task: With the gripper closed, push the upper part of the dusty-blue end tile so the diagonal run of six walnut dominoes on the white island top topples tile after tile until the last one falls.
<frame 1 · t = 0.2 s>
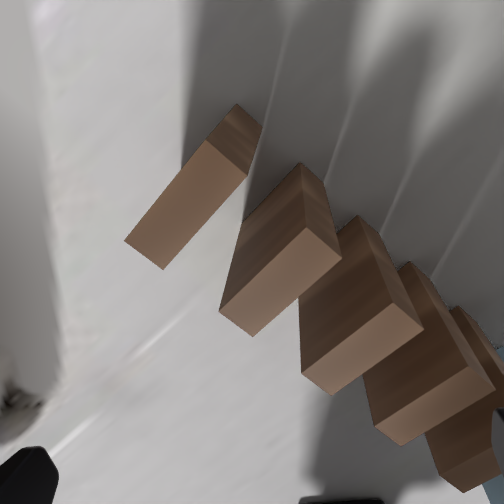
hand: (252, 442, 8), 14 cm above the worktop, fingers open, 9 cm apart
domino 6: (220, 151, 20), on the worktop
domino 4: (337, 252, 22), on the worktop
domino 1: (478, 374, 25), on the worktop
domino 5: (281, 204, 21), on the worktop
domino 2: (434, 336, 24), on the worktop
domino 3: (387, 295, 23), on the worktop
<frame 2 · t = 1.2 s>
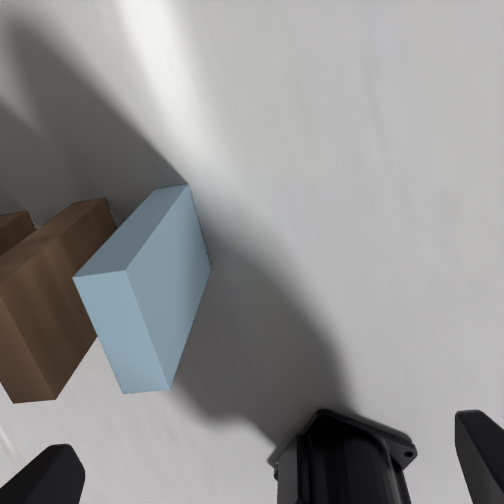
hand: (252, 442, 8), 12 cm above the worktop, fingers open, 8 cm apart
domino 1: (184, 230, 20), on the worktop
domino 2: (105, 242, 20), on the worktop
domino 3: (31, 253, 21), on the worktop
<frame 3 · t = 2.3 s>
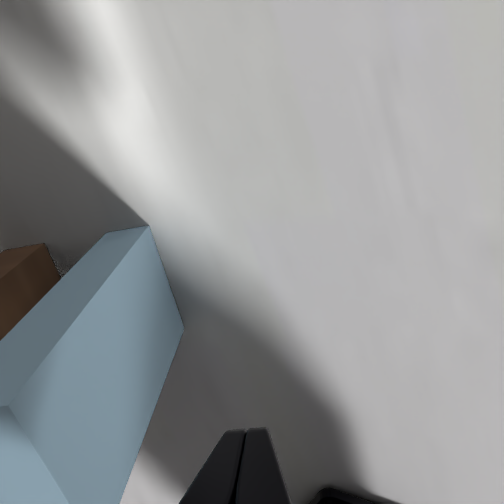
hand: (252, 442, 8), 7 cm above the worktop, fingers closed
domino 1: (147, 283, 15), on the worktop
domino 2: (49, 297, 16), on the worktop
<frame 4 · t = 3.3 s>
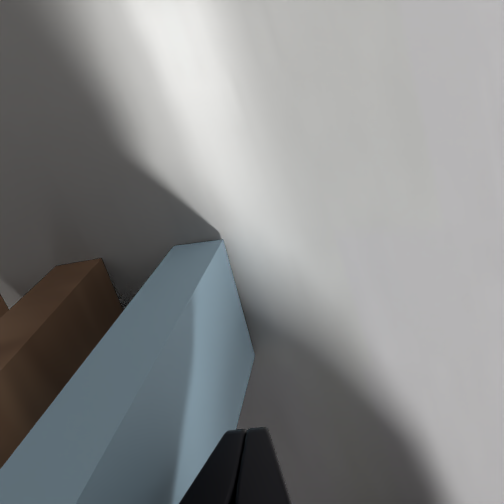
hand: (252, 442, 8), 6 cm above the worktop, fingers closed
domino 1: (216, 303, 13), on the worktop, tilted 6°
domino 2: (103, 318, 14), on the worktop
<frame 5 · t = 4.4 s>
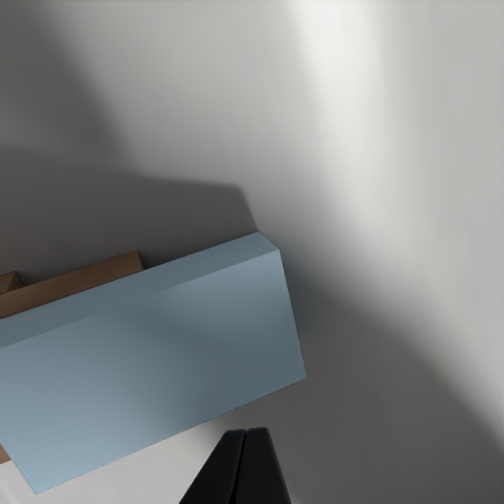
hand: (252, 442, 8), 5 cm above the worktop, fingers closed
domino 1: (283, 305, 12), point 1 cm above the worktop, tilted 67°, touching domino 2
domino 2: (162, 320, 13), point 1 cm above the worktop, tilted 67°, touching domino 1, domino 3
domino 3: (41, 337, 14), point 1 cm above the worktop, tilted 66°, touching domino 2, domino 4
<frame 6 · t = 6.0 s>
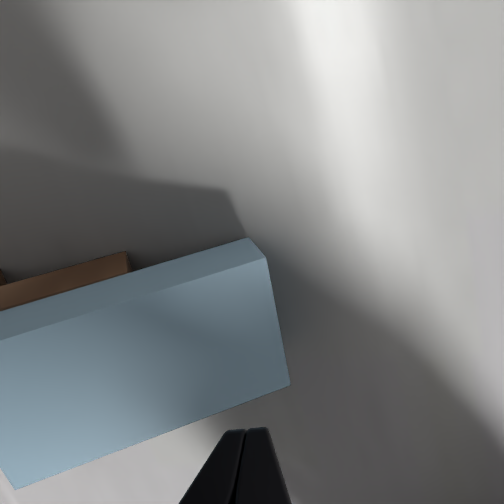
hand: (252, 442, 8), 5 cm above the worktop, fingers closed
domino 1: (270, 312, 12), point 1 cm above the worktop, tilted 68°, touching domino 2
domino 2: (147, 322, 13), point 1 cm above the worktop, tilted 68°, touching domino 1, domino 3
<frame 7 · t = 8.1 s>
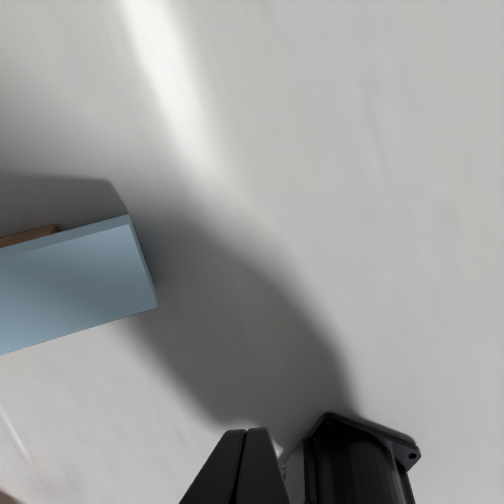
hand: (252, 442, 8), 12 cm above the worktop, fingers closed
domino 1: (143, 260, 20), point 1 cm above the worktop, tilted 70°, touching domino 2
domino 2: (69, 269, 21), point 1 cm above the worktop, tilted 71°, touching domino 1
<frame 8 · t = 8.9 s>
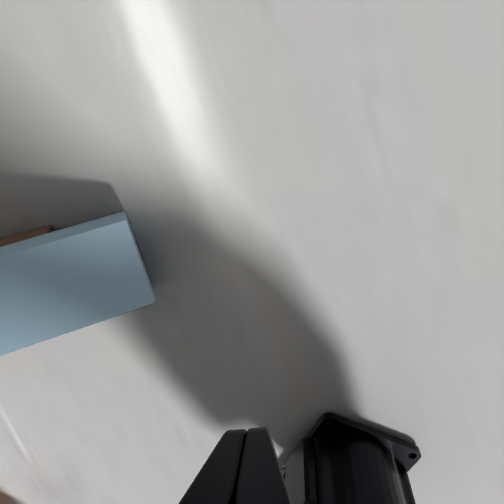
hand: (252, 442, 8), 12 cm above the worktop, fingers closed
domino 1: (140, 257, 20), point 1 cm above the worktop, tilted 67°, touching domino 2
domino 2: (66, 269, 21), point 1 cm above the worktop, tilted 70°, touching domino 1, domino 3
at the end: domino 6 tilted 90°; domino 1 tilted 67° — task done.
